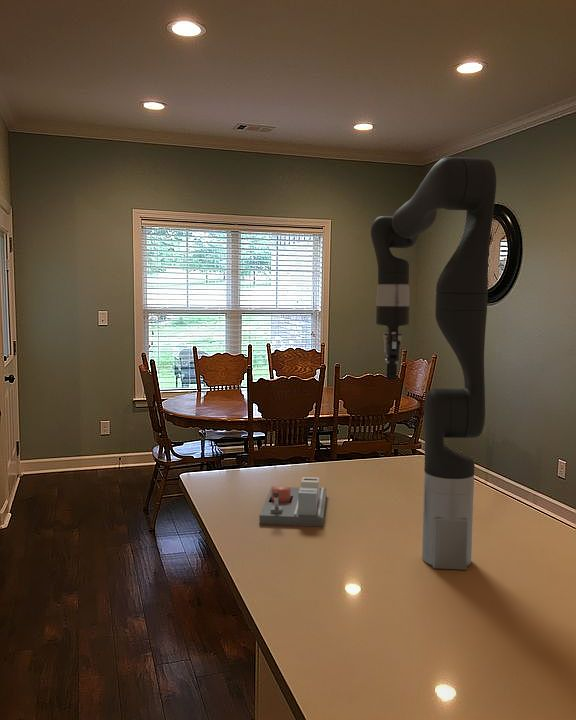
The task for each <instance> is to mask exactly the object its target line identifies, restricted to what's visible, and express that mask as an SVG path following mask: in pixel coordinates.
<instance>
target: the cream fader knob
mask: <svg viewBox="0 0 576 720" xmlns="http://www.w3.org/2000/svg"><path fill="white" fill-rule="evenodd" d="M300 484H301V485H300V488H317V503H318V501H319V488H320V477H313V476H311V477H310V476H309V477H307V476H306V477H305V476H303V477H302V478H301V481H300Z"/></svg>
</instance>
